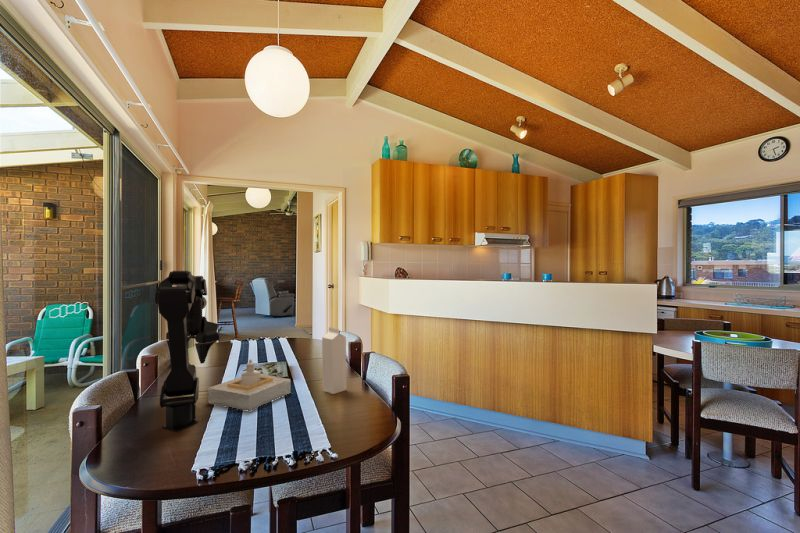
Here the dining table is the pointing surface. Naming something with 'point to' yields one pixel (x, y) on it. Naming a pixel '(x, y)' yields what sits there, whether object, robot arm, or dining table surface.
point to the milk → (334, 361)
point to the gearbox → (248, 392)
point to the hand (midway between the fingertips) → (192, 361)
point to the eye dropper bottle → (250, 375)
